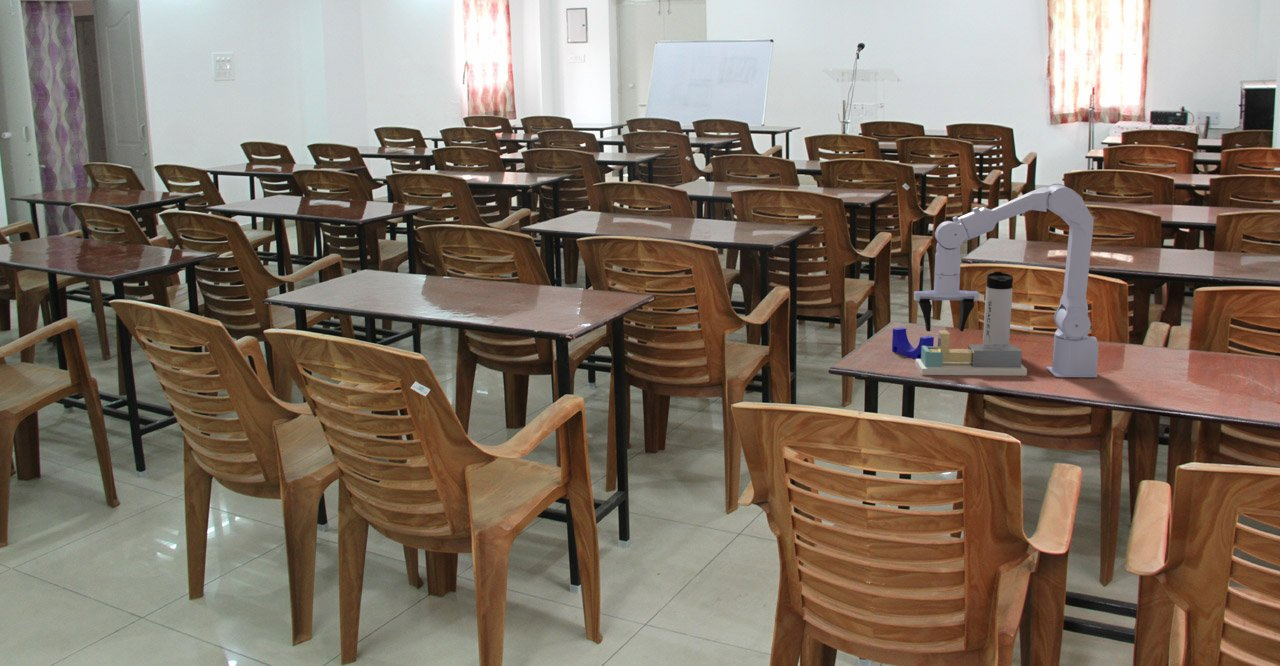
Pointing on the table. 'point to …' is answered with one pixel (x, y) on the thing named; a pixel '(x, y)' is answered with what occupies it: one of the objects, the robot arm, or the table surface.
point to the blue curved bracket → (903, 345)
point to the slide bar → (951, 350)
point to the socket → (931, 357)
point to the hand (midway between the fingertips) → (944, 330)
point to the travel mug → (998, 309)
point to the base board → (968, 369)
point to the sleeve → (996, 356)
